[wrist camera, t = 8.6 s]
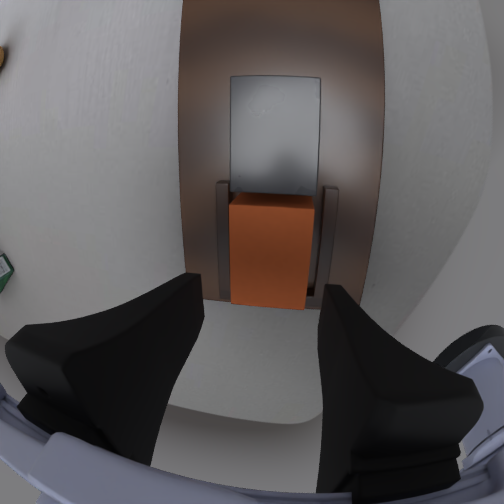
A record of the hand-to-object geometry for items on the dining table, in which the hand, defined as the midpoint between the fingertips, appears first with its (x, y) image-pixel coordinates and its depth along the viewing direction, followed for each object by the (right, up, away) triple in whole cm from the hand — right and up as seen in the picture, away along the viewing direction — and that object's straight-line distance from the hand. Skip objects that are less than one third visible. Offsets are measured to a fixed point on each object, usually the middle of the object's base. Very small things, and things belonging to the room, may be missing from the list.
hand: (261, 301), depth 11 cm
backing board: (+1, +19, +1) cm, 19 cm away
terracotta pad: (+1, +3, +7) cm, 7 cm away
